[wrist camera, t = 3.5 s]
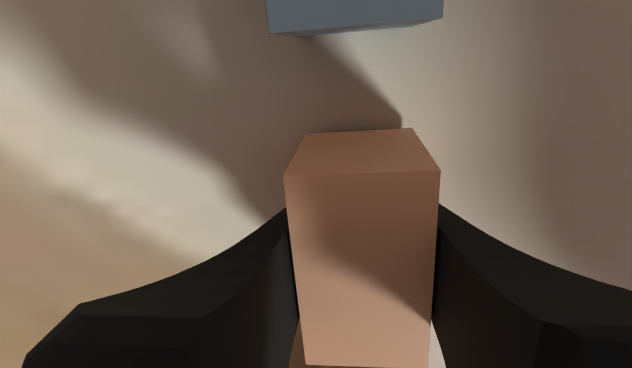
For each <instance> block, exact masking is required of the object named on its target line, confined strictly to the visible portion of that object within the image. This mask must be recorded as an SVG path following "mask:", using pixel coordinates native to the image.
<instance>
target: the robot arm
mask: <svg viewBox="0 0 632 368" xmlns="http://www.w3.org/2000/svg"><path fill="white" fill-rule="evenodd" d="M299 318H300V313H299V305H298V297H297V289H296V281H295V273H294V265H293V257H292V249H291V241H290V232H289V224H288V216H287V208H284V209H283V210H282V211H280V212H279V213H278V214H276V215H275V216H274V217H273V218H271V219H270V220H269V221H267V222H266V223H265V224H263V225H262V226H261V227H260V228H258V229H257V230H256V231H254V232H253V233H251V234H250V235H248V236H247V237H245V238H244V239H242V240H241V241H240V242H238V243H237V244H235V245H233V246H232V247H230V248H229V249H227V250H225V251H223V252H222V253H220V254H218V255H216V256H214V257H212V258H211V259H209V260H207V261H205V262H202V263H200V264H198V265H196V266H193V267H191V268H189V269H187V270H185V271H182V272H180V273H178V274H175V275H173V276H170V277H168V278H165V279H162V280H160V281H157V282H154V283H151V284H148V285H145V286H142V287H139V288H136V289H133V290H129V291H126V292H122V293H119V294H115V295H111V296H108V297H104V298H100V299H96V300H93V301H89V302H85V303H80V304H79V305H77V306H76V307H75V308H74V309H73V310H72V311H71V312H70V313H69V314H68V315H67V316H66V317H65V318H64V319H63V320H62V321H61V322H60V323H59V324H58V325H57V326H55V327H54V328H53V329H52V330H51V331H50V332H49V333H48V334H47V335H46V336H45V337H44V338H43V339H42V340H41V341H40V342H39V343H38V344H37V345H36V346H35V347H34V348H33V349H32V350H31V351H29V352H28V353H27V354H26V357H25V360H24V362H23V365H22V368H288V367H289V360H290V355H291V350H292V345H293V341H294V337H295V333H296V329H297V326H298V322H299ZM431 320H432V323H433V326H434V329H435V332H436V335H437V338H438V341H439V344H440V347H441V350H442V354H443V357H444V361H445V365H446V368H632V291H630V290H627V289H623V288H620V287H616V286H613V285H609V284H606V283H603V282H600V281H596V280H593V279H590V278H587V277H584V276H581V275H578V274H576V273H573V272H570V271H567V270H564V269H562V268H559V267H556V266H553V265H551V264H548V263H546V262H543V261H541V260H539V259H536V258H534V257H532V256H530V255H527V254H525V253H523V252H521V251H519V250H516V249H514V248H512V247H510V246H508V245H506V244H504V243H503V242H501V241H499V240H497V239H495V238H493V237H492V236H490V235H488V234H486V233H485V232H483V231H481V230H480V229H478V228H476V227H475V226H473V225H471V224H470V223H468V222H467V221H465V220H464V219H462V218H461V217H459V216H458V215H456V214H454V213H453V212H451V211H450V210H448V209H447V208H445V207H444V206H442V205H440V204H438V219H437V235H436V250H435V266H434V282H433V297H432V313H431Z"/></svg>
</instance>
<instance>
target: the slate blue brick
mask: <svg viewBox="0 0 632 368" xmlns="http://www.w3.org/2000/svg"><path fill="white" fill-rule="evenodd" d="M265 1H266V10H267V18H268V27H269V33H270V34H278V35H287V36H295V37H301V36H312V35H323V34H335V33H346V32H357V31H368V30H379V29H391V28H402V27H412V26H415V25H419V24H422V23H426V22H429V21H433V20H436V19H440V18H443V1H444V0H265Z"/></svg>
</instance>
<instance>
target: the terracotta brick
mask: <svg viewBox="0 0 632 368" xmlns="http://www.w3.org/2000/svg"><path fill="white" fill-rule="evenodd" d="M440 173H441V170H440V169H439V167H438V166H437V164H436V163H435V161H434V160H433V158H432V157H431V155H430V154H429V152H428V151H427V149H426V148H425V147H424V145H423V144H422V142H421V141H420V139H419V138H418V136H417V135H416V133H415V132H414V130H413V129H412V128H402V129H383V130H364V131H344V132H325V133H306V134H305V136H304V138H303V139H302V141H301V143H300V145H299V147H298V149H297V150H296V152H295V154H294V156H293V158H292V160H291V161H290V163H289V165H288V167H287V169H286V171H285V172H284V174H283V184H284V192H285V200H286V208H287V216H288V224H289V232H290V241H291V249H292V257H293V265H294V273H295V281H296V289H297V297H298V305H299V313H300V321H301V329H302V338H303V346H304V354H305V362H306V365H327V366H354V367H382V368H428V359H429V344H430V328H431V313H432V297H433V282H434V266H435V250H436V235H437V219H438V204H439V188H440Z"/></svg>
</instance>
